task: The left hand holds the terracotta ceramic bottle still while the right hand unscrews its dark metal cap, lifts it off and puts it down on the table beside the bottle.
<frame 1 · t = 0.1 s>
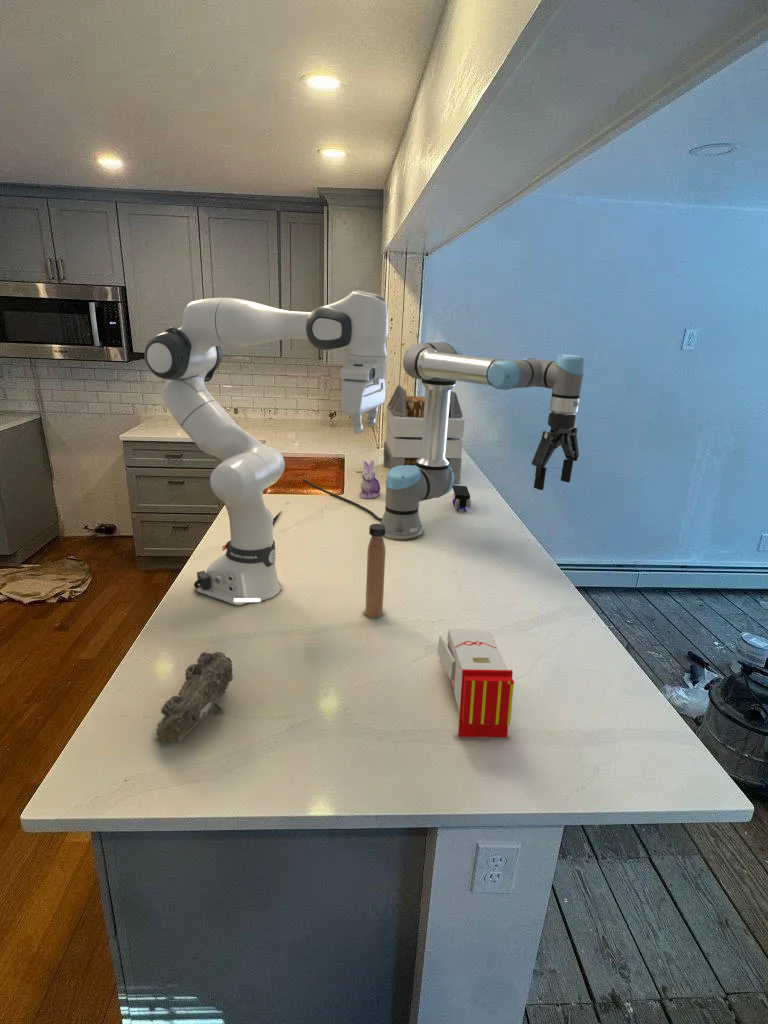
left hand: (364, 429, 132), 48 cm above the counter, tool pointing down, fingers open, 8 cm apart
right hand: (552, 485, 166), 28 cm above the counter, tool pointing down, fingers open, 13 cm apart
toy: (469, 691, 119), on the counter
cap: (377, 527, 139), point 24 cm above the counter, screwed on, not yet turned
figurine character: (460, 507, 229), on the counter
fossil: (201, 708, 110), on the counter
feather: (279, 514, 213), on the counter
figurine: (369, 495, 239), on the counter
bottle: (373, 613, 147), on the counter
white slatted crate: (419, 473, 275), on the counter
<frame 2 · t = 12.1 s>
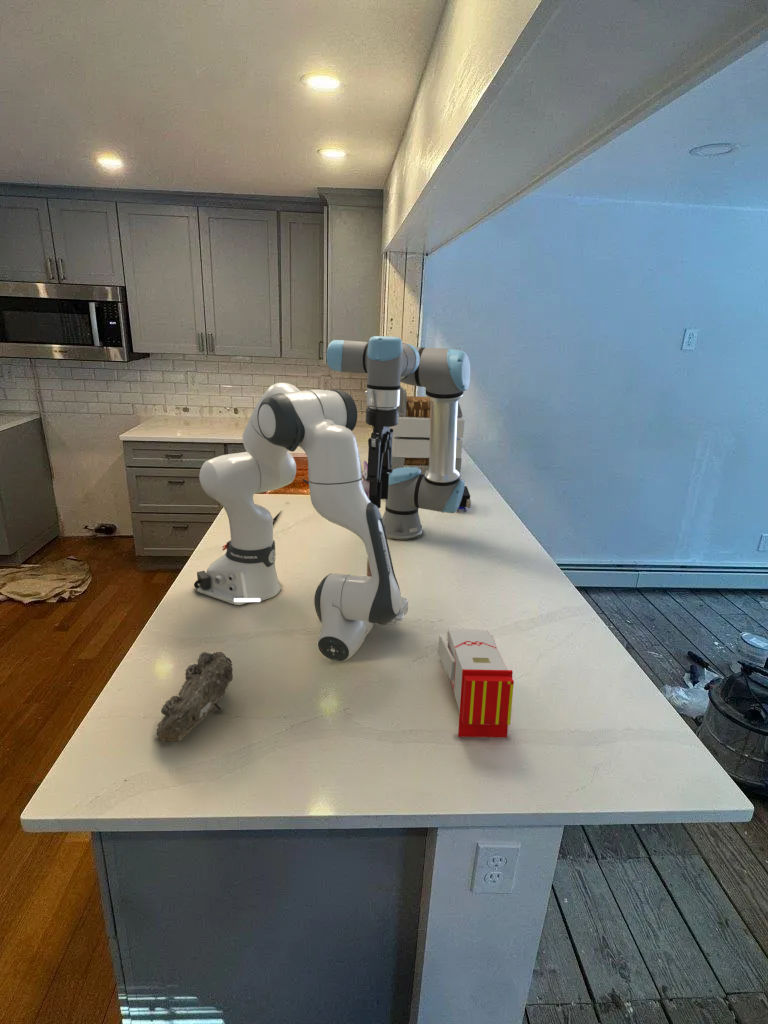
left hand: (375, 588, 146), 7 cm above the counter, tool horizontal, fingers closed on bottle, 4 cm apart
right hand: (378, 502, 137), 30 cm above the counter, tool pointing down, fingers open, 6 cm apart
bottle: (373, 613, 147), on the counter, touching left hand
everything else where it was.
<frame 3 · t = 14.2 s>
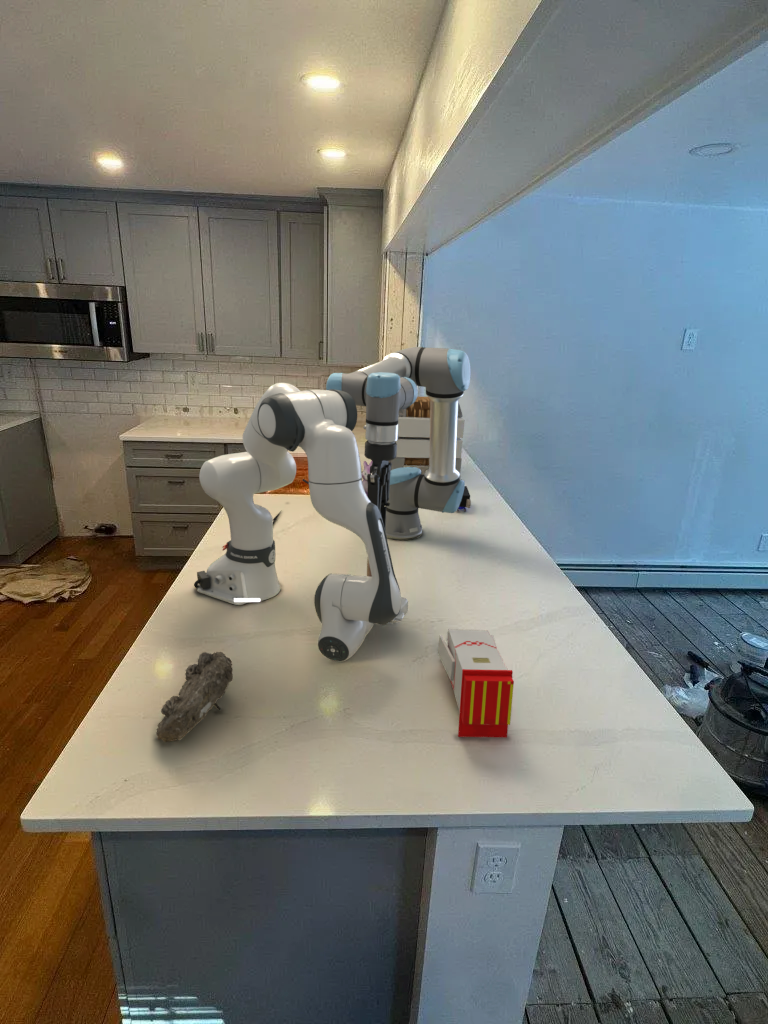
left hand: (375, 588, 146), 7 cm above the counter, tool horizontal, fingers closed on bottle, 4 cm apart
right hand: (377, 534, 140), 22 cm above the counter, tool pointing down, fingers closed on cap, 4 cm apart
cap: (377, 527, 139), point 24 cm above the counter, screwed on, not yet turned, touching right hand
bottle: (373, 613, 147), on the counter, touching left hand
everything else where it was.
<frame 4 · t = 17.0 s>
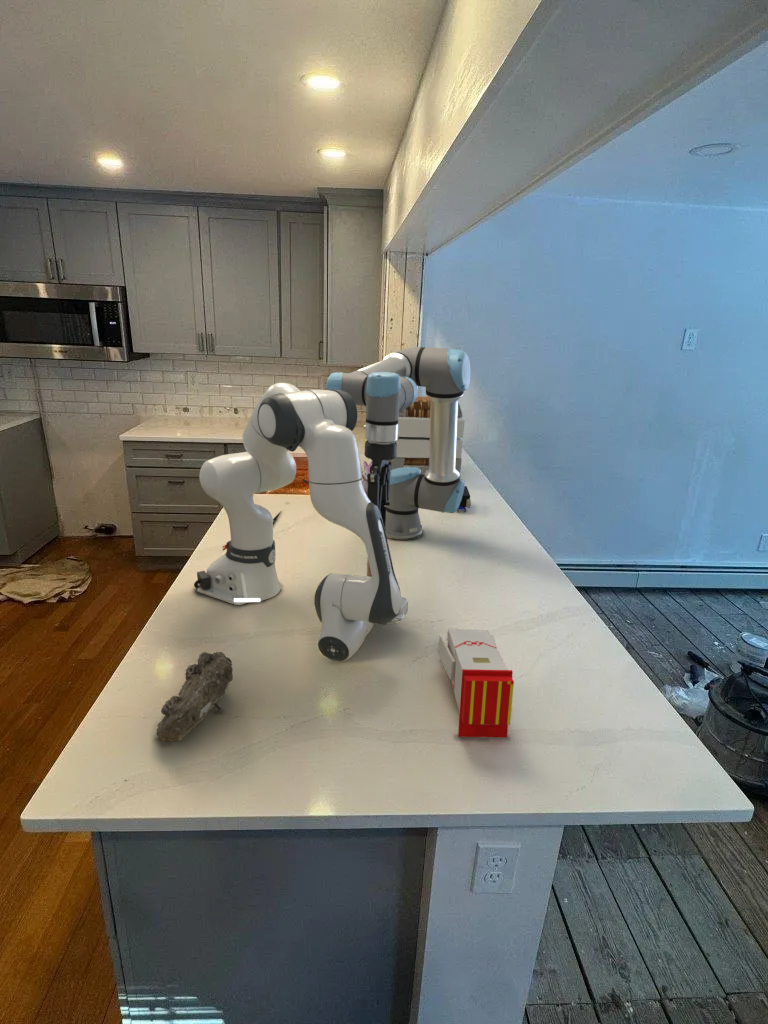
left hand: (375, 588, 146), 7 cm above the counter, tool horizontal, fingers closed on bottle, 4 cm apart
right hand: (377, 533, 140), 22 cm above the counter, tool pointing down, fingers closed on cap, 4 cm apart
cap: (377, 527, 139), point 24 cm above the counter, turned 78° so far, risen 0.1 cm, still on its thread, touching right hand
bottle: (373, 613, 147), on the counter, touching left hand
everything else where it was.
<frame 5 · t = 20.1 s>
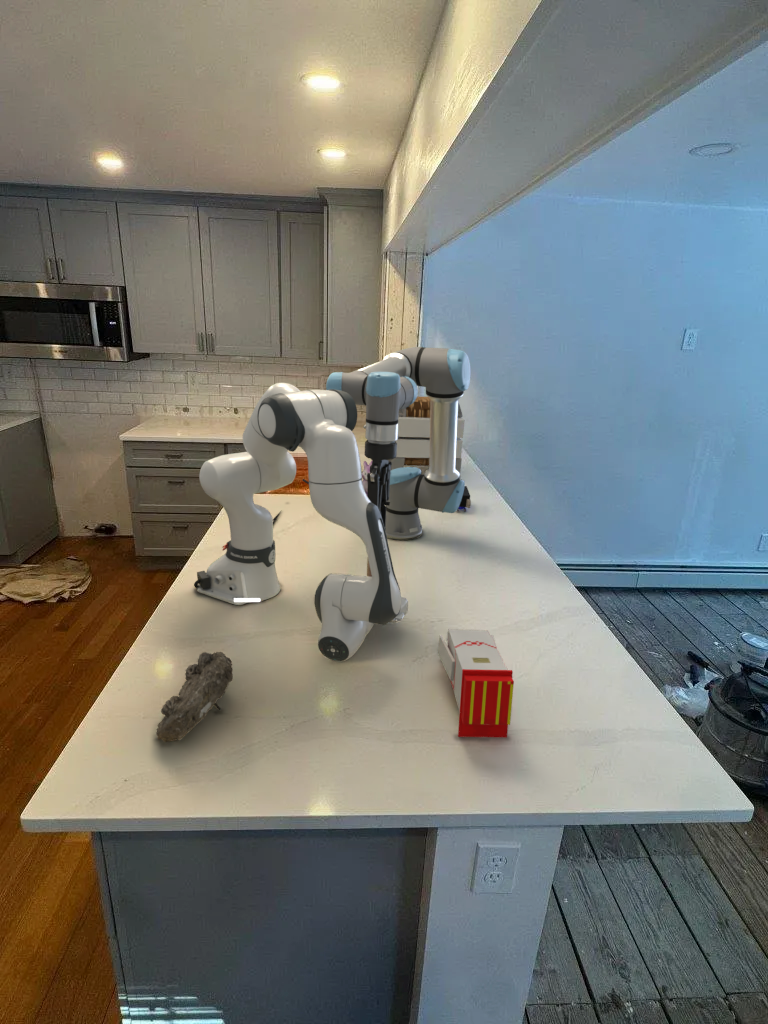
left hand: (375, 588, 146), 7 cm above the counter, tool horizontal, fingers closed on bottle, 4 cm apart
right hand: (377, 533, 140), 22 cm above the counter, tool pointing down, fingers closed on cap, 4 cm apart
cap: (377, 527, 139), point 24 cm above the counter, turned 156° so far, risen 0.1 cm, still on its thread, touching right hand
bottle: (373, 613, 147), on the counter, touching left hand
everything else where it was.
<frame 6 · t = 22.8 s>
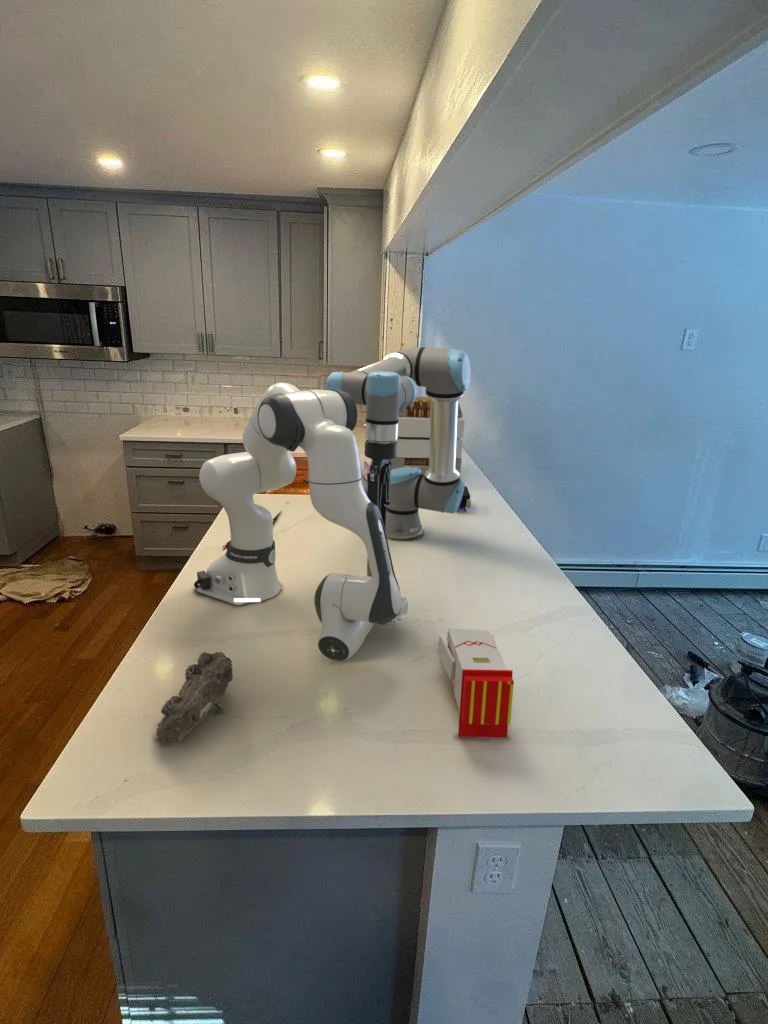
left hand: (375, 588, 146), 7 cm above the counter, tool horizontal, fingers closed on bottle, 4 cm apart
right hand: (377, 533, 140), 22 cm above the counter, tool pointing down, fingers closed on cap, 4 cm apart
cap: (377, 526, 139), point 24 cm above the counter, turned 234° so far, risen 0.2 cm, still on its thread, touching right hand
bottle: (374, 613, 147), on the counter, touching left hand
everything else where it was.
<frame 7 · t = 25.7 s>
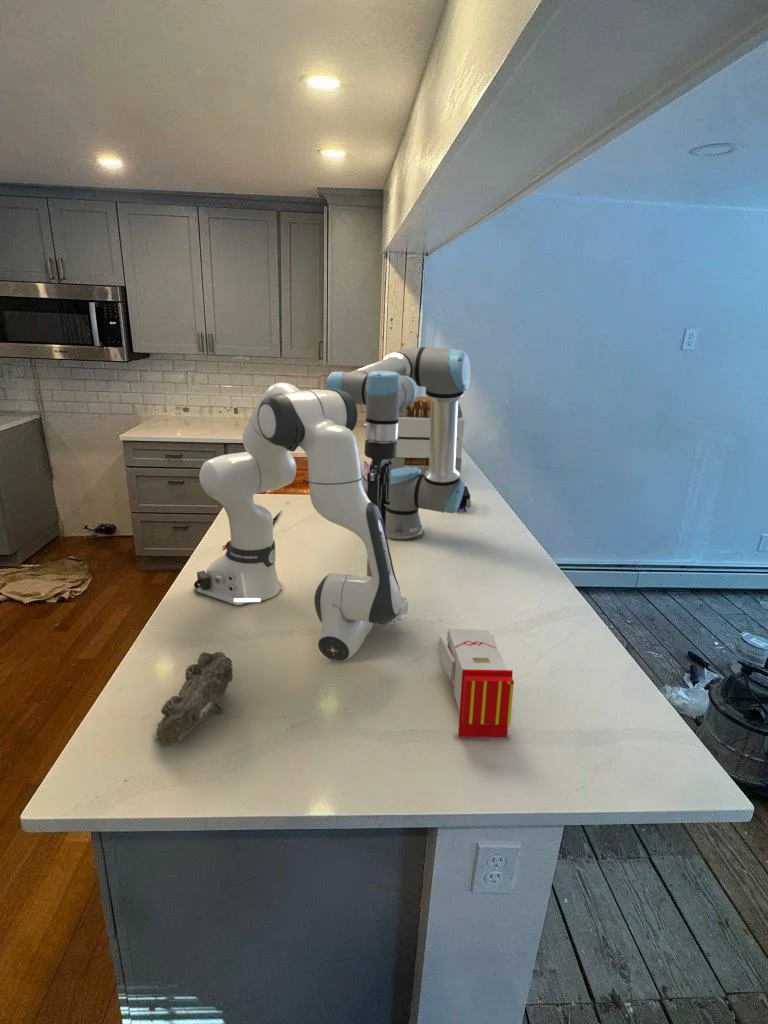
left hand: (375, 588, 146), 7 cm above the counter, tool horizontal, fingers closed on bottle, 4 cm apart
right hand: (377, 532, 140), 23 cm above the counter, tool pointing down, fingers closed on cap, 4 cm apart
cap: (377, 526, 139), point 24 cm above the counter, turned 312° so far, risen 0.3 cm, still on its thread, touching right hand
bottle: (374, 613, 147), on the counter, touching left hand
everything else where it was.
when the right hand's fingers open (1 cm above the counter, at t = 34.9 s): cap stays where it is, point 2 cm above the counter.
when the left hand's fingers open (7 cm above the counter, at t = 36.2 s): bottle stays where it is, on the counter.
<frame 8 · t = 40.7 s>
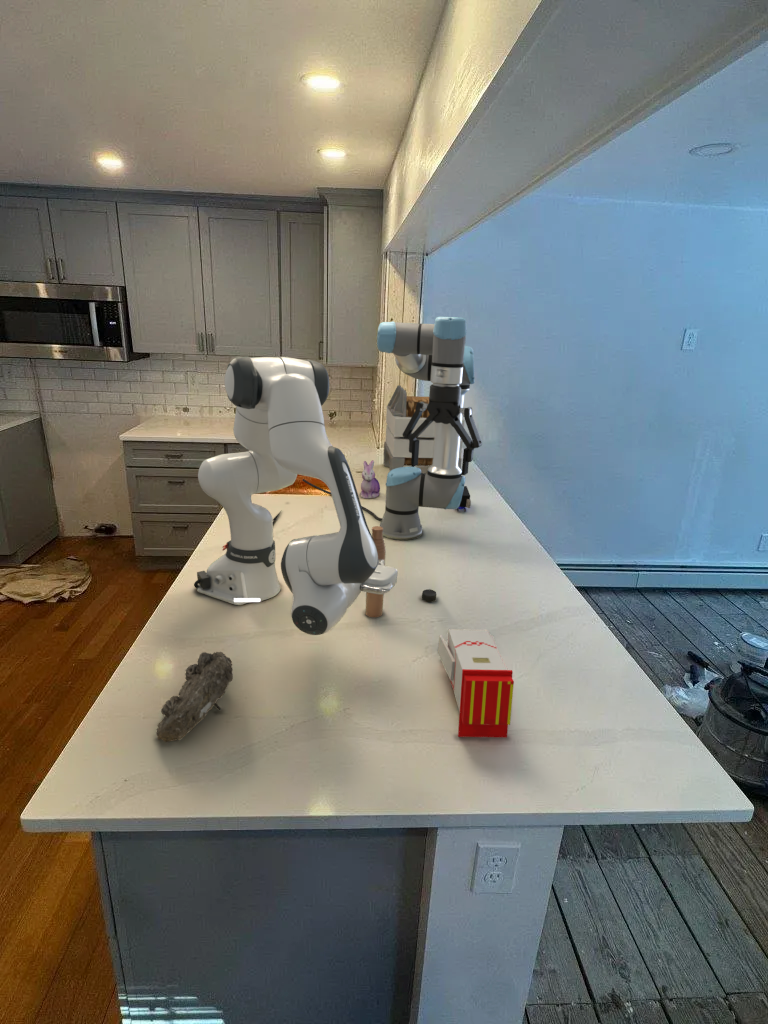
left hand: (361, 559, 131), 20 cm above the counter, tool horizontal, fingers open, 8 cm apart
right hand: (439, 469, 144), 37 cm above the counter, tool pointing down, fingers open, 13 cm apart
cap: (429, 593, 155), point 2 cm above the counter, off its thread
bottle: (374, 613, 147), on the counter
everything else where it was.
at the end: cap came off its thread; cap point 1.6 cm above the counter; the left hand is holding nothing; the right hand is holding nothing; bottle tilted 0°; bottle moved 0.0 cm from its start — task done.
